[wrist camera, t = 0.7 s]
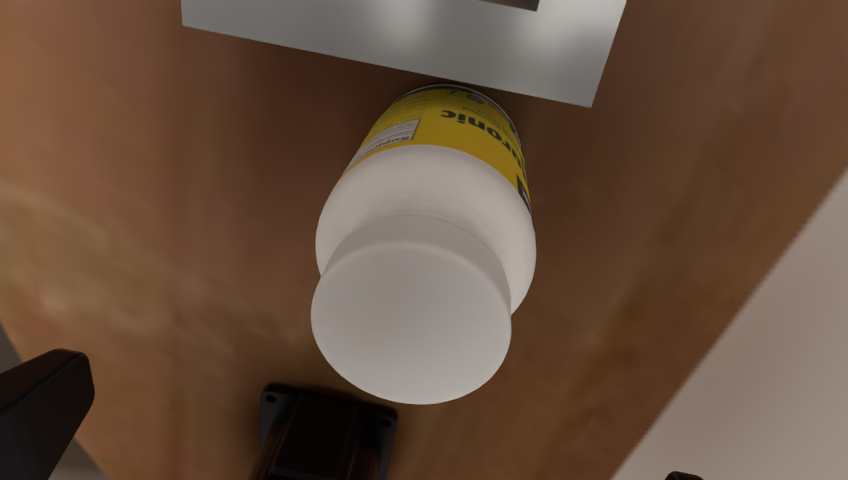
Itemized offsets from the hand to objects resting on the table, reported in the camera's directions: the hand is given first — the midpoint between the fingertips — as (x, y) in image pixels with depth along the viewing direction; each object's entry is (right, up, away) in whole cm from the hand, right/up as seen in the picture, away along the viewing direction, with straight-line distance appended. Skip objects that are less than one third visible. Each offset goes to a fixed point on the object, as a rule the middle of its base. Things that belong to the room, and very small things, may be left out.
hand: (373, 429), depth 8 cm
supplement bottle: (+2, +6, +11) cm, 13 cm away
